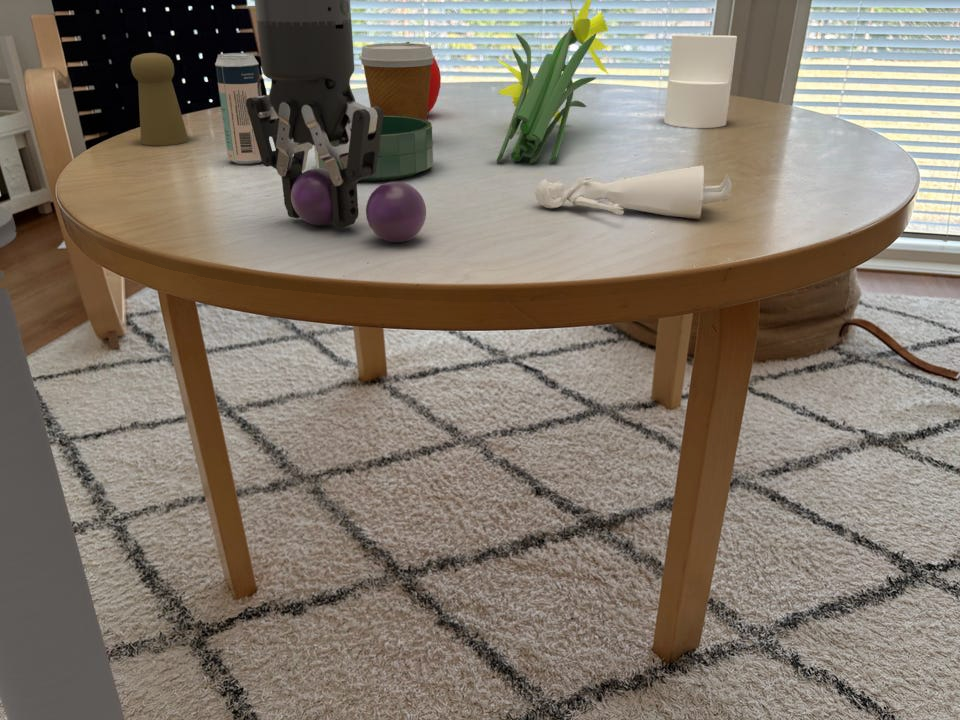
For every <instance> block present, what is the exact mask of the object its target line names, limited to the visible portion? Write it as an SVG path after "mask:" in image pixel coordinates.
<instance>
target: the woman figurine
mask: <svg viewBox="0 0 960 720" xmlns="http://www.w3.org/2000/svg"><path fill="white" fill-rule="evenodd" d="M592 179H595V177H593V176H586V177H584V178H581V179H579V180H578V181H576V182H575V183H573V184H572V185H570V186H569V188H567V189H565V184H564V183H563V182H561V181H559V180H556V181H555V182H549V181H548V180H547V178H544V179H543V180H540V181H539V184H538V185H537V187H536V188H535V192H534V195H535V199H536V201H537V202H538V204H540V205H541V206H543V207H544V208H545V209H546V208H547V209H556V208H559V207H561V206H563V205H564V204H565V203H566V202H567V201H569V203H570V204H571V205H573V207H579V206H583V207H584V206H585V207H590V208H593V209H594V208H595V209H600V210H604V211H609V212H611V213H614V214H615V215H618V216H619V215H624V212H625V211H624V209H629V210H633V211H634V210H635V211H640V212H644V213H645V212H646V213H651V214H655V215H660V216H667V217H676V218H685V219H690V220H691V219H692V220H701V215H702V209H703V206H704V205H709V204H712V203H716V202H721V201H722V202H724V201H728V200H731V199H732V194H731V191H732V182H731V179H730V176H729V175H728V174H727V173H726V174H725V178H724V179H723V181H722V182H721V183H720V184H719V185H706V186H705V185H704V182H705V181H704V180H705V167H704V165H695V166H690V167H685V168H678V169H671V170H665V171H660V172H655V173H648V174H644V175H643V174H642V175H637V176H632V177H623V178H622V177H621V178H619V179H618V180H614V181H610V182H608V183H603V182H598V181H594V180H592ZM601 200H607V201H609V202H610V203H611V204H612V205H609V204H606V203H602V202H600V201H601Z"/></svg>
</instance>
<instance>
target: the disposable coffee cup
mask: <svg viewBox="0 0 960 720" xmlns="http://www.w3.org/2000/svg"><path fill="white" fill-rule="evenodd" d="M434 58H435V59H436V55H434V54H433V50H432V46H431V44H426V43H413V42H410V43H406V42H386V43H385V42H384V43H383V42H382V43H371V44H364V45H362V47H361V55H359V60H360V62H361V65H362V66H363V70H364V71H363V72H364V77H365V82H366V83H365V84H366V88H367V94H368V101H369V104H370V107H376V106H378V107H380V108H381V109H382V111H383V115H390V116H406V117H415V118H420V119H424V120H427V119H428V114H427V110H428V99H429V88H430V77H431V65H432V64H433V59H434ZM427 121H428V120H427Z"/></svg>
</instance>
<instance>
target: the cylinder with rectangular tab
mask: <svg viewBox="0 0 960 720" xmlns="http://www.w3.org/2000/svg"><path fill="white" fill-rule="evenodd" d="M737 43H738V36H737V35H722V34H721V35H720V34H719V35H718V34H716V35H715V34H677V33H676V34H672V35H671V45H670V54H669V66H668V77H667V87H666V97H665V108H664V119H663V122H664V123H665V124H666V125H670V126H674V127H680V128H690V129H712V128H713V129H714V128H721V127H725V126H726V125H727V119H728V112H729V104H730V98H731V97H730V96H731V89H732V82H733V81H732V80H733V74H734V73H733V72H734V65H735V57H736V49H737Z"/></svg>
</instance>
